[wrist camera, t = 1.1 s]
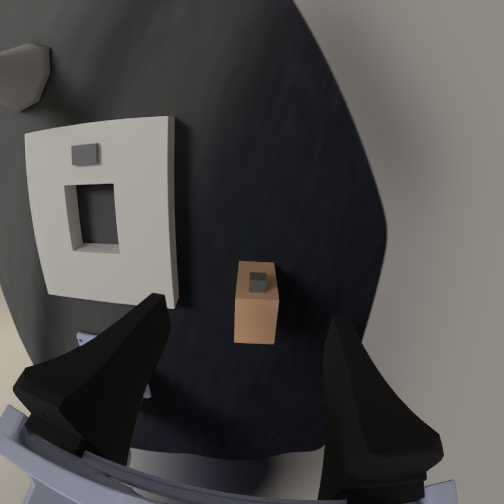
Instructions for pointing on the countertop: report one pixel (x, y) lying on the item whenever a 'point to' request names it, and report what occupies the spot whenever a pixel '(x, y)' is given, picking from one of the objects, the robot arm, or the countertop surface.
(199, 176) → the countertop surface
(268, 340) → the plug
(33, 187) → the socket
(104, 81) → the countertop surface
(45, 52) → the flask
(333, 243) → the countertop surface
